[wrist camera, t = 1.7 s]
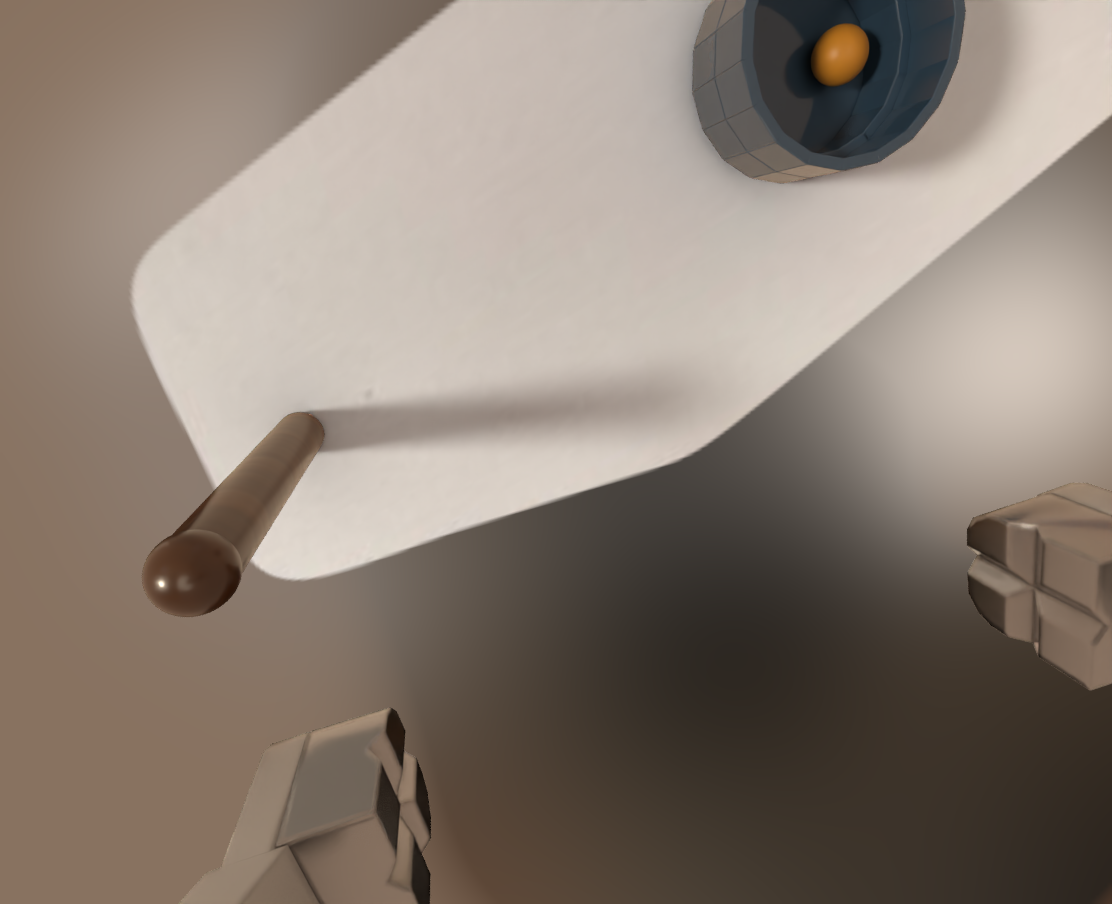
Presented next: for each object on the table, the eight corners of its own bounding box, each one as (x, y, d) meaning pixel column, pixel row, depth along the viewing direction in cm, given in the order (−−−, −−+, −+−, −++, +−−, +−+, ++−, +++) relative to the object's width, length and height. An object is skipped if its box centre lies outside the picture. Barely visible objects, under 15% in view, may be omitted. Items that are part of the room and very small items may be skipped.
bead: (798, 39, 28) (829, 20, 26) (845, 29, 28) (880, 9, 26) (802, 97, 29) (833, 83, 26) (848, 86, 29) (882, 72, 27)
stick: (267, 417, 29) (107, 569, 15) (316, 404, 30) (203, 543, 15) (286, 461, 30) (150, 645, 16) (333, 449, 30) (240, 619, 16)
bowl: (671, -26, 27) (727, -92, 22) (870, -65, 28) (968, -137, 23) (700, 203, 30) (754, 192, 25) (877, 160, 31) (964, 142, 26)
